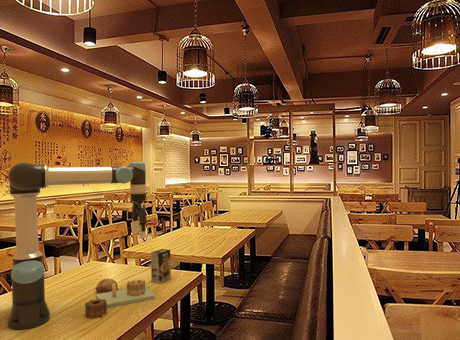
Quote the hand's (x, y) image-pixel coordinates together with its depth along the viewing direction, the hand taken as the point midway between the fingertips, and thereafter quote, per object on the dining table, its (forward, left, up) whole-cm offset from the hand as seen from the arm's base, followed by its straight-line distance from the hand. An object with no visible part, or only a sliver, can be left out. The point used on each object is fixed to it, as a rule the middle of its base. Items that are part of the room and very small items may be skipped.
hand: (139, 235), depth 186 cm
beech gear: (-3, -6, -26) cm, 27 cm away
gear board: (-9, -6, -28) cm, 30 cm away
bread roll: (-15, +9, -28) cm, 33 cm away
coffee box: (+14, +11, -28) cm, 33 cm away
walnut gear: (-24, -19, -28) cm, 41 cm away
